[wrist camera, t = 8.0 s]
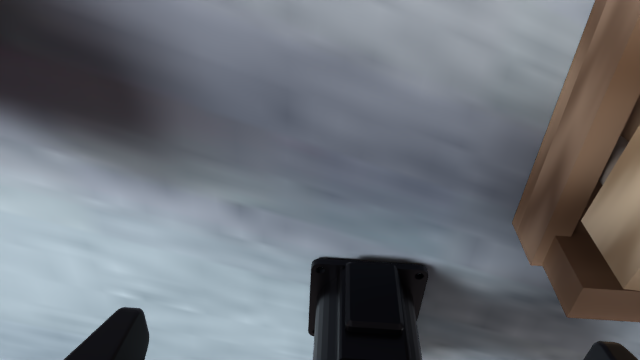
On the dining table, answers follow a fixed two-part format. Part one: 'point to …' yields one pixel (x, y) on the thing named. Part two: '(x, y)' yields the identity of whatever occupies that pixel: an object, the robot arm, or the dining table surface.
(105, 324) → the robot arm
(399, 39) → the dining table surface
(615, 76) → the frame
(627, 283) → the board
